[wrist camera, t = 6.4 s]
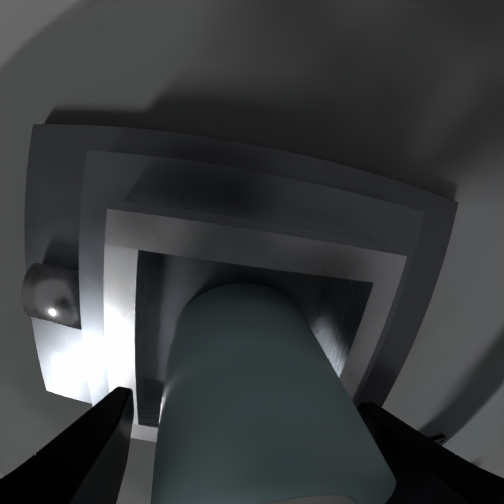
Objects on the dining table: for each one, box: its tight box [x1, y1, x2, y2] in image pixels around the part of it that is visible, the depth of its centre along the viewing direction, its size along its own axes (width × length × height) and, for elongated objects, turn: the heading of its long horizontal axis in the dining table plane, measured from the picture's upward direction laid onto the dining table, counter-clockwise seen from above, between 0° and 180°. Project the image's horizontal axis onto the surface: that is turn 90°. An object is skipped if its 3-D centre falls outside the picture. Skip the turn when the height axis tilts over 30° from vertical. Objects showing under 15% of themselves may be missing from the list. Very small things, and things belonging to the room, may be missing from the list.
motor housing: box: [21, 124, 458, 442], centre depth 11 cm, size 20×14×4 cm
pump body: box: [151, 283, 396, 504], centre depth 7 cm, size 5×5×7 cm
